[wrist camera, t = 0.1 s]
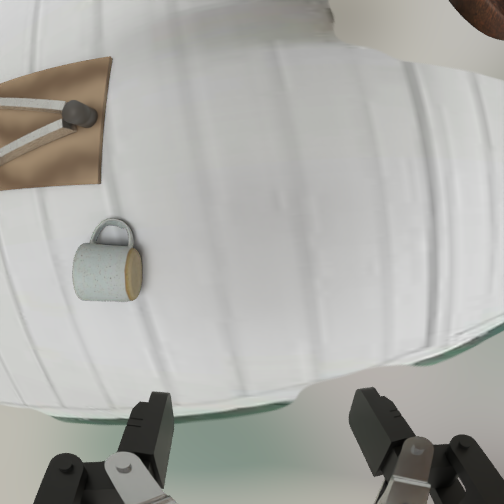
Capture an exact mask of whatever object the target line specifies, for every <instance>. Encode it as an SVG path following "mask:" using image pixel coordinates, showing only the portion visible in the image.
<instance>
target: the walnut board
mask: <svg viewBox="0 0 504 504" xmlns="http://www.w3.org/2000/svg"><path fill="white" fill-rule="evenodd" d="M111 65H112V58H111V57H103V58H97V59H91V60H86V61H81V62H76V63H71V64H67V65H62V66H58V67H54V68H50V69H46V70H42V71H39V72H35V73H32V74H28V75H25V76H22V77H19V78H15V79H12V80H9V81H7V82H4V83H1V84H0V98H29V99H45V100H58V101H66V102H67V103H66V104H65V106H64V107H63V109H62V114H59V113H50V112H39V111H27V110H13V109H0V148H2V147H4V146H6V145H8V144H10V143H12V142H13V141H15V140H17V139H19V138H21V137H23V136H25V135H27V134H29V133H31V132H33V131H35V130H37V129H40V128H42V127H44V126H46V125H48V124H50V123H53V122H55V121H57V120H60V119H63V120H64V121H66V122H69V123H72V124H75V125H76V130H77V131H76V132H74V133H71V134H69V135H66V136H64V137H61V138H59V139H56V140H54V141H52V142H49V143H47V144H45V145H42V146H40V147H38V148H36V149H34V150H31V151H29V152H27V153H25V154H23V155H21V156H19V157H17V158H15V159H13V160H11V161H9V162H7V163H5V164H3V165H1V166H0V191H1V190H11V189H22V188H33V187H47V186H62V185H80V184H101V160H102V142H103V129H104V118H105V108H106V100H107V92H108V84H109V77H110V71H111Z"/></svg>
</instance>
